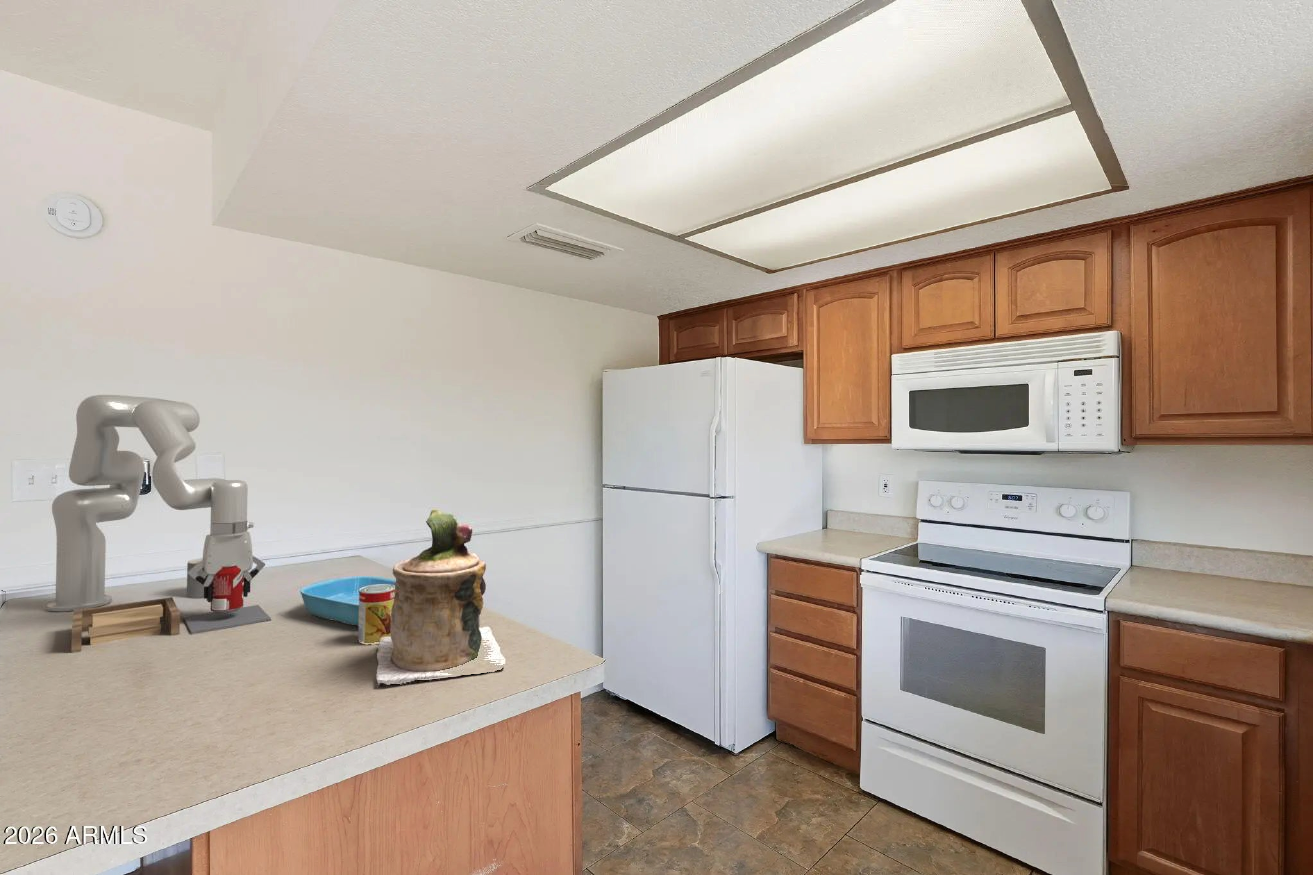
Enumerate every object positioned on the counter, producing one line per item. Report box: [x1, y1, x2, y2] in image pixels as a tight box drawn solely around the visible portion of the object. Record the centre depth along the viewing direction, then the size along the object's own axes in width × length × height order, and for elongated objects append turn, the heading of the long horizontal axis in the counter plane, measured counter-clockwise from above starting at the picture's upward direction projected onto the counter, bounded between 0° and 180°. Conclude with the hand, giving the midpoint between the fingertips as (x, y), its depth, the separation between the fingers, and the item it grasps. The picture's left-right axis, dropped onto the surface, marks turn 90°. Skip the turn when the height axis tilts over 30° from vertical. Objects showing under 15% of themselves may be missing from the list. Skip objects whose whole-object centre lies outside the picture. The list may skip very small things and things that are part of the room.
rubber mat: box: [183, 604, 272, 635], centre depth 148 cm, size 16×16×1 cm
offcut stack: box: [87, 604, 163, 645], centre depth 135 cm, size 4×13×6 cm, turn 135°
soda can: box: [210, 564, 245, 613], centre depth 148 cm, size 7×7×12 cm
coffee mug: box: [186, 557, 206, 599], centre depth 171 cm, size 13×10×10 cm
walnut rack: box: [70, 596, 181, 653], centre depth 137 cm, size 18×18×5 cm
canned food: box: [357, 584, 395, 643], centre depth 136 cm, size 8×8×12 cm
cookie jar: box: [375, 508, 507, 686], centre depth 125 cm, size 25×25×32 cm
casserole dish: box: [299, 575, 396, 627], centre depth 155 cm, size 37×22×7 cm, turn 65°
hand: (227, 597), depth 148 cm, fingers closed on soda can, 6 cm apart
